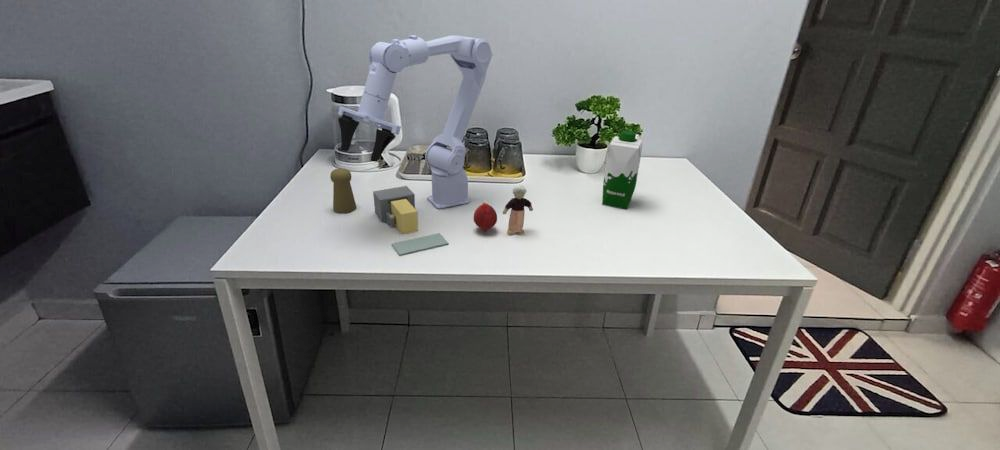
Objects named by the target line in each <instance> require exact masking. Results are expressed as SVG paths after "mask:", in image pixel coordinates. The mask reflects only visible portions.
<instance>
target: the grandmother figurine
mask: <svg viewBox="0 0 1000 450" xmlns="http://www.w3.org/2000/svg"><path fill="white" fill-rule="evenodd" d="M526 193H527V189H526V187H525V186H523V185H522V184H516V185H514V186H513V188H512V194H513V196H514V197H512V198H511V199H510V200H509V201H508V202H507V203H506V204H505V206H504V208H503V211H502V214H503V215H506V214H507V213H508V211H509V210H510V209H511V210H510V214H509V220H508V225H507V227H508V229H507V231H506V234H507V235H509V236H512V235H515V233H517V234H518V235H520V234H525V230H524V229H523V228H524V223H525V207H526V208H527V209H528V210H529V211H530V212H532V211H533V210H534V208H533V205H532V202H531V201H530V200H528V199H527V198H525V195H526Z"/></svg>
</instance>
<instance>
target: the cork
mask: <svg viewBox="0 0 1000 450" xmlns="http://www.w3.org/2000/svg"><path fill="white" fill-rule="evenodd" d="M329 179H330V181H331V182H332V183H333V188H332V189H333V194H332V195H333V199H332V200H333V201H332V202H333V203H332V205H333V206H332V210H333V212H334V213H336V214H340V215H341V214H350V213H353V212H355V211H356V210H357V209H358V208H357V203H356V200H355V194H354V192H353V188H352V185H351V180H352V173H351V170H349V169H347V168H342V167H341V168H335V169H333V170H332V171H331V172H330V178H329Z"/></svg>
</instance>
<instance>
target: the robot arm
mask: <svg viewBox="0 0 1000 450" xmlns="http://www.w3.org/2000/svg"><path fill="white" fill-rule="evenodd" d="M367 53H368V54H367V55H368V56H367V57H368V61H369V67H368V71H369V72H368V74H367V78H366V81H365V86H364V88H363V92H362V95H361V100H360V103H359V106H358V109H357V110H353V109H350V108H347V107H344V106H339V109H338V112H337V115H339V117H338V119H337V120H338V123H339V129H340V139H341V141H340V142H341V143H340V144H341V145H340V150H341V151H343V152H349V150H350V147H351V145H352V140H353V138H354V134H355V132H356V130H357V129H358V126H359V125H360V123H362V124H365V125H368V126H371V127H374V128H376V131H375V142H374V145H373V149H372V152H371V156H370V161H371V162H377V163H378V161H379V159H380V158H381V156H382V154H383V152H384V151H385V150H386V149H387V147H388V146H389V145H390V144H391V142H392V141H394V140H395V139H396V135H398V136H399V135H400V133H401V132H400V131H401V128H402V127H401V126H400V125H397V124H394V123H391V122H388V121H385V120H384V119H385V115H386V112H387V108H388V105H389V101H390V97H391V94H392V91H393V88H394V85H395V81H396V77H397V74H398V73H401V72H402V71H404V69H405V68H406V67H407V68H408V67H412V66H417V65H422V64H424V63H426V62H427V61H428V59H429V57H432V56H441V55H447V54H449V55H450V57H451V59H452V60H453V62H454V64H455V65H456V67H457V68H458V70H459V71H460V72H461V74H462V80H461V82H460V85H459V89H458V91H457V93H456V96H455V98H454V102H453V105H452V107H451V109H450V113H449V115H448V118H447V120H446V123H445V126H444V129H443V131H442V133H440V134H439V135H437V136H435V137H434V138H433V140H432V142H431V143H430V145H429V146H428V147H427V149H426V151H425V155H424V159H425V163H426V164H427V165H428V166H429V171H431V192H432V193H431V195H428V196H427V197H426V198H427V200H428V201H429V202H430V203H431V204H432V205H433V206H435V208H436V209H438V210H440V209H445V208H450V207H454V206H455V207H456V206H460V205H465V204H469V203H470V201H469V198H468V197H469V192H468V191H469V181H468V180H469V178H468V175H467V172H466V171H465V169H464V165H465V157H466V153H467V149H466V146H465V144H464V143H463V138H464V137H465V134H466V131H467V129H468V125H469V123H470V120H471V118H472V115H473V112H474V110H475V107H476V105H477V102H478V99H479V97H480V95H481V92H482V89H483V86H484V83H485V80H486V76H487V71H488V68H489V65H490V63H491V61H492V58H493V52H492V49H491V46H490V43H489V41H488V40H487V39H486V38H478V37H470V36H464V35H460V34H457V35H455V34H454V35H453V34H451V35H447V36H444V37H439V38H435V39H431V40H428V41H427V40H426V41H425V40H424V38H422V37H418V36H417V35H414V34H412V35H408V39H401V40H400V39H398V38H394V39H393V38H392V41H391V42H390V43H389V42H384V41H379V42H376V43H375V44H374V45H373V46H372V47H371V49H368V51H367ZM340 116H341V117H340ZM365 119H366V120H368V121H365ZM369 121H370V122H369ZM372 122H374V123H375V124H374V123H372Z"/></svg>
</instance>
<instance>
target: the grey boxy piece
mask: <svg viewBox="0 0 1000 450" xmlns="http://www.w3.org/2000/svg"><path fill="white" fill-rule="evenodd" d="M372 195H373V204H374V212H375V214H376V216H377V217H378V218H379V220H380V221H381V222H387V223H386V224H388V225H389V227H390V228H395V226H396V225H395V220H394V215H392V213H391V201H397V200H402V199H407V201H408V202H409V203H410V204H411V205H412V206H413V207H414V208H415V209H416V199H415V193H414V192H413V191H412V190H411V189H410V188H409V187H408V185H403V186H398V187H392V188H387V189H379V190H374V191H373V194H372Z"/></svg>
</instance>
